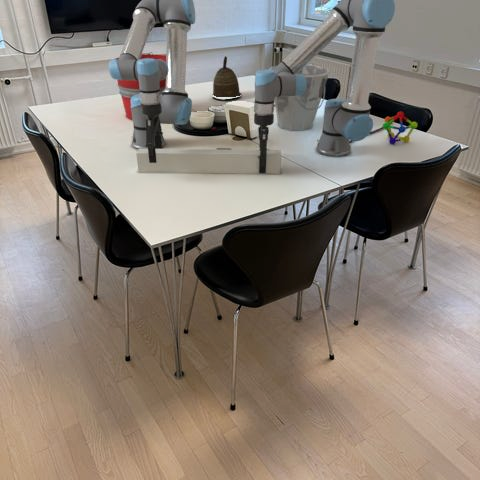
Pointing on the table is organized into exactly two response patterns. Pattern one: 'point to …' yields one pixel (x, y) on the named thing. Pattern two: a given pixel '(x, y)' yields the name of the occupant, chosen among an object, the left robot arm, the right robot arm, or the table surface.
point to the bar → (208, 161)
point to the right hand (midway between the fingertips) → (262, 169)
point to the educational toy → (398, 128)
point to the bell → (225, 82)
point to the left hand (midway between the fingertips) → (156, 156)
